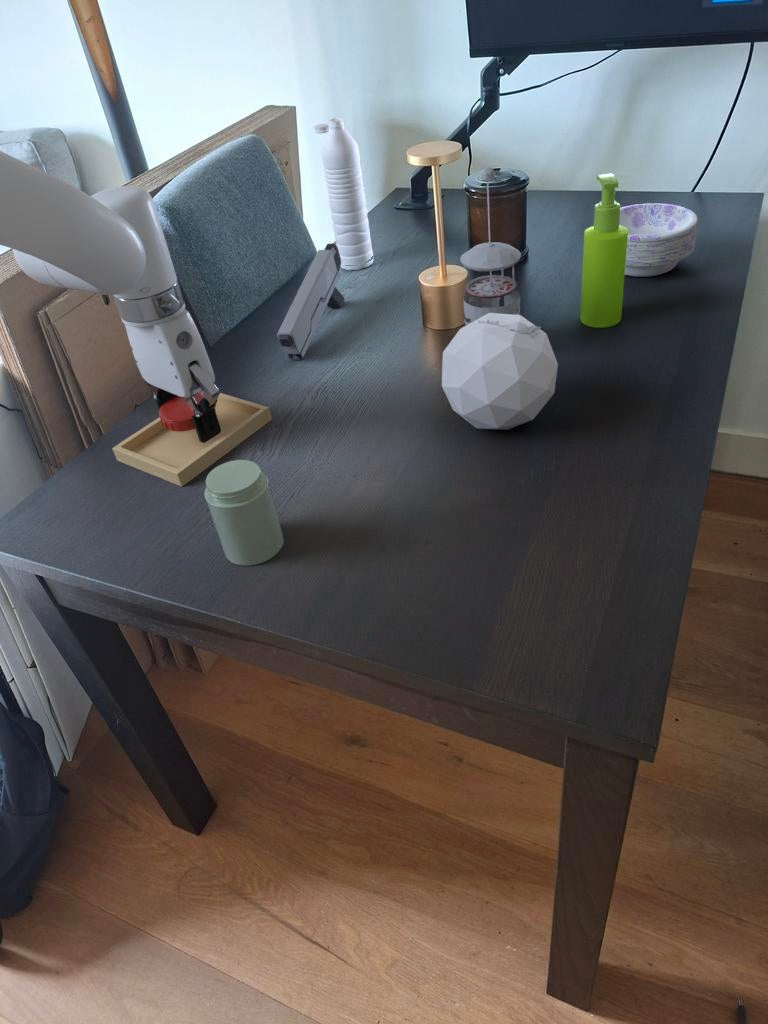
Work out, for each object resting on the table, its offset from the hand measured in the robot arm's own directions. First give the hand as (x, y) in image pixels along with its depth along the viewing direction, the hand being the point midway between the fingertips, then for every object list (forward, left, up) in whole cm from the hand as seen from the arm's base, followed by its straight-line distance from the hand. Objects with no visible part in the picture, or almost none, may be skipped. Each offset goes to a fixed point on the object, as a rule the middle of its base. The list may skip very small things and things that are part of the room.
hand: (192, 428), depth 100 cm
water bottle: (+56, +16, -2) cm, 58 cm away
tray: (0, 0, -2) cm, 2 cm away
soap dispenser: (+52, -34, -2) cm, 62 cm away
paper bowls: (+72, -33, -2) cm, 79 cm away
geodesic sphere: (+21, -34, -2) cm, 40 cm away
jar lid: (0, 0, +3) cm, 3 cm away
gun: (+32, +5, -2) cm, 33 cm away
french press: (+38, -24, -2) cm, 45 cm away
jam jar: (-12, -22, -2) cm, 25 cm away
